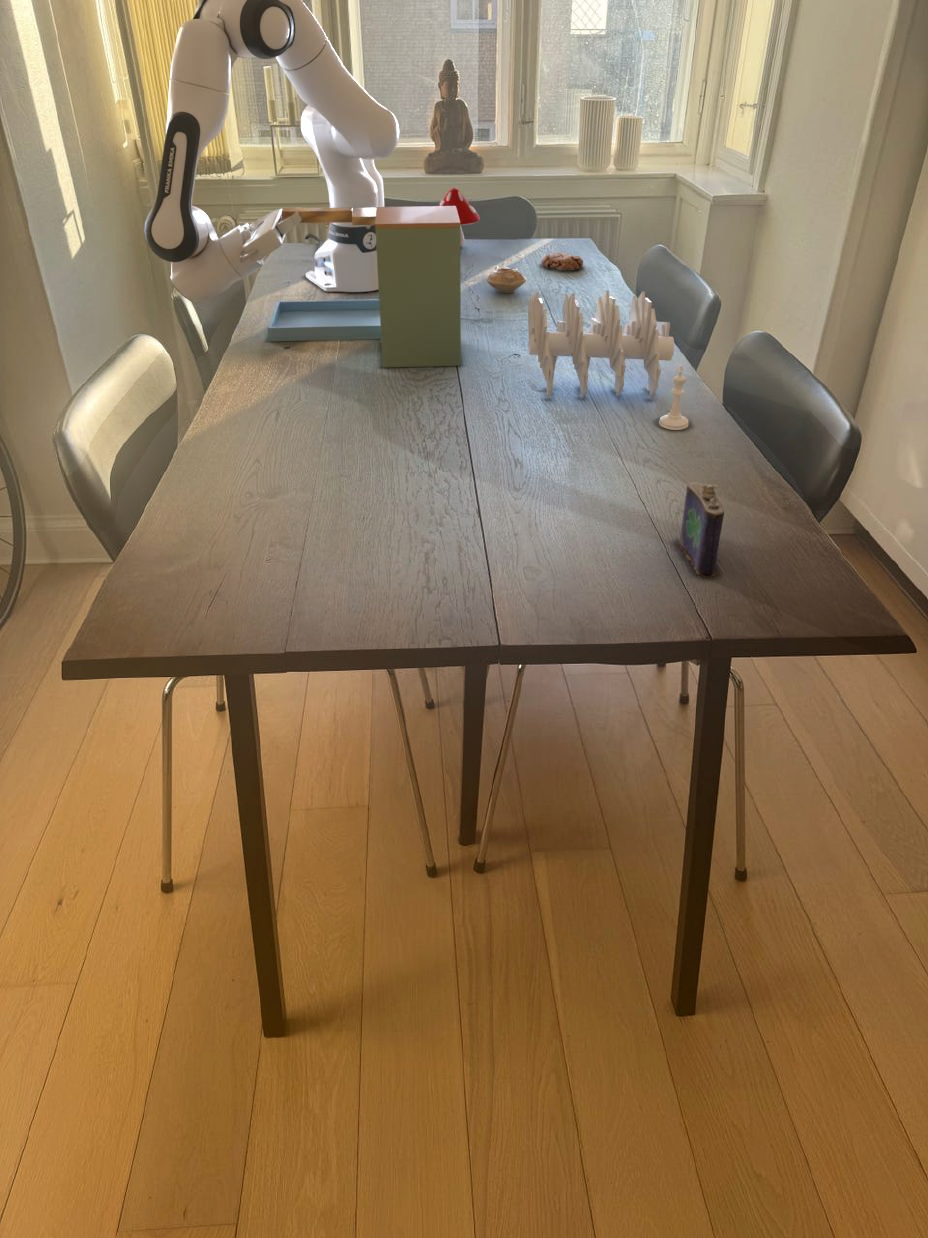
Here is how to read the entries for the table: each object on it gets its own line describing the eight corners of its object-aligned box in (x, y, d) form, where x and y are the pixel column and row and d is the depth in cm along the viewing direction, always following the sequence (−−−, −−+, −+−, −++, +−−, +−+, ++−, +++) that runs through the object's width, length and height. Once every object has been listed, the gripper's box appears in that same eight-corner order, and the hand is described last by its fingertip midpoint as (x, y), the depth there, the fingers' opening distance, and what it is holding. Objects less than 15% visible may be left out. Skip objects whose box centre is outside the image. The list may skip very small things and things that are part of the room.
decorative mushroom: (423, 252, 253) (421, 191, 244) (433, 240, 264) (432, 181, 255) (475, 254, 251) (475, 193, 242) (483, 242, 262) (483, 183, 253)
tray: (269, 341, 194) (267, 327, 192) (277, 313, 209) (276, 300, 208) (423, 338, 196) (423, 324, 194) (421, 310, 211) (420, 298, 209)
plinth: (382, 367, 182) (375, 223, 167) (383, 343, 193) (376, 206, 178) (460, 365, 182) (460, 222, 167) (456, 341, 194) (455, 205, 179)
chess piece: (690, 420, 161) (698, 362, 155) (686, 431, 157) (694, 373, 151) (661, 416, 162) (668, 359, 156) (656, 427, 158) (663, 369, 152)
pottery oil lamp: (516, 278, 230) (528, 254, 225) (516, 309, 223) (529, 285, 218) (482, 266, 228) (493, 242, 222) (482, 297, 221) (493, 272, 215)
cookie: (542, 261, 246) (543, 249, 244) (583, 262, 244) (584, 250, 243) (539, 271, 237) (540, 259, 236) (582, 273, 236) (583, 260, 234)
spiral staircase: (664, 422, 170) (525, 416, 169) (655, 350, 179) (522, 344, 177) (690, 346, 154) (537, 339, 153) (679, 271, 163) (534, 265, 162)
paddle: (280, 225, 186) (279, 213, 185) (284, 216, 193) (283, 205, 192) (398, 224, 188) (397, 212, 186) (397, 215, 194) (397, 204, 193)
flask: (675, 541, 127) (686, 468, 121) (696, 540, 127) (708, 467, 121) (698, 578, 120) (711, 502, 113) (721, 576, 120) (735, 501, 114)
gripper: (227, 248, 182) (287, 209, 179) (241, 224, 199) (295, 188, 196) (248, 277, 185) (306, 239, 182) (259, 251, 202) (313, 216, 199)
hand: (301, 212), depth 189 cm, fingers closed on paddle, 3 cm apart
